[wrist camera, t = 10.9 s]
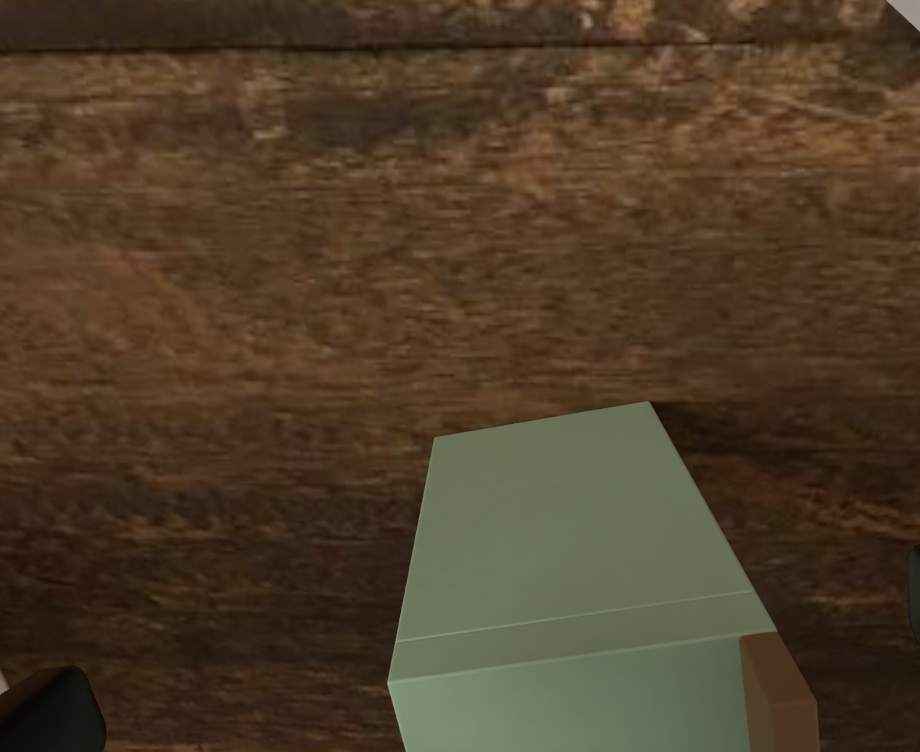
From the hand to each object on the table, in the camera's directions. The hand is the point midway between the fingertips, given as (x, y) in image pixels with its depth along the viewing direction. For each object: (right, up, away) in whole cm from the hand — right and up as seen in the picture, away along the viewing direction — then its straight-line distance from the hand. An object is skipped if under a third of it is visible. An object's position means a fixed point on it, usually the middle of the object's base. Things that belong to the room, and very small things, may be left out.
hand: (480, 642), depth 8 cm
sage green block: (+3, -2, +14) cm, 15 cm away
